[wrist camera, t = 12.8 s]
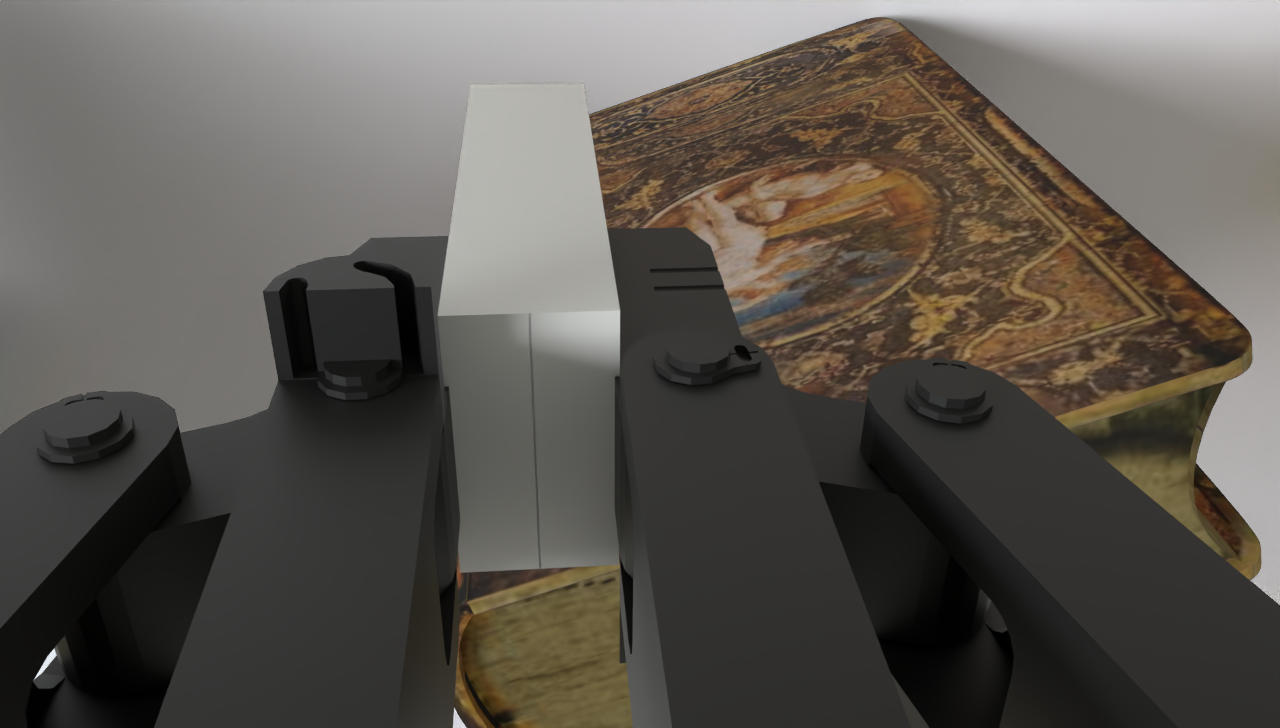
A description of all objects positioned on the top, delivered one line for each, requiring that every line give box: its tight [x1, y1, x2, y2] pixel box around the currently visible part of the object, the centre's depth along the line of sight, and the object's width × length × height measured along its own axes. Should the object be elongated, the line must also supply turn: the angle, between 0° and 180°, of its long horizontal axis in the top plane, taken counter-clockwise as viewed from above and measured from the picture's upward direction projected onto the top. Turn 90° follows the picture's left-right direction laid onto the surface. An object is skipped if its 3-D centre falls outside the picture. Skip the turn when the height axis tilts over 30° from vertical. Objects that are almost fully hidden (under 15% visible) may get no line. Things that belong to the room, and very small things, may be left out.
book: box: [454, 17, 1261, 728], centre depth 32 cm, size 16×6×25 cm, turn 108°
